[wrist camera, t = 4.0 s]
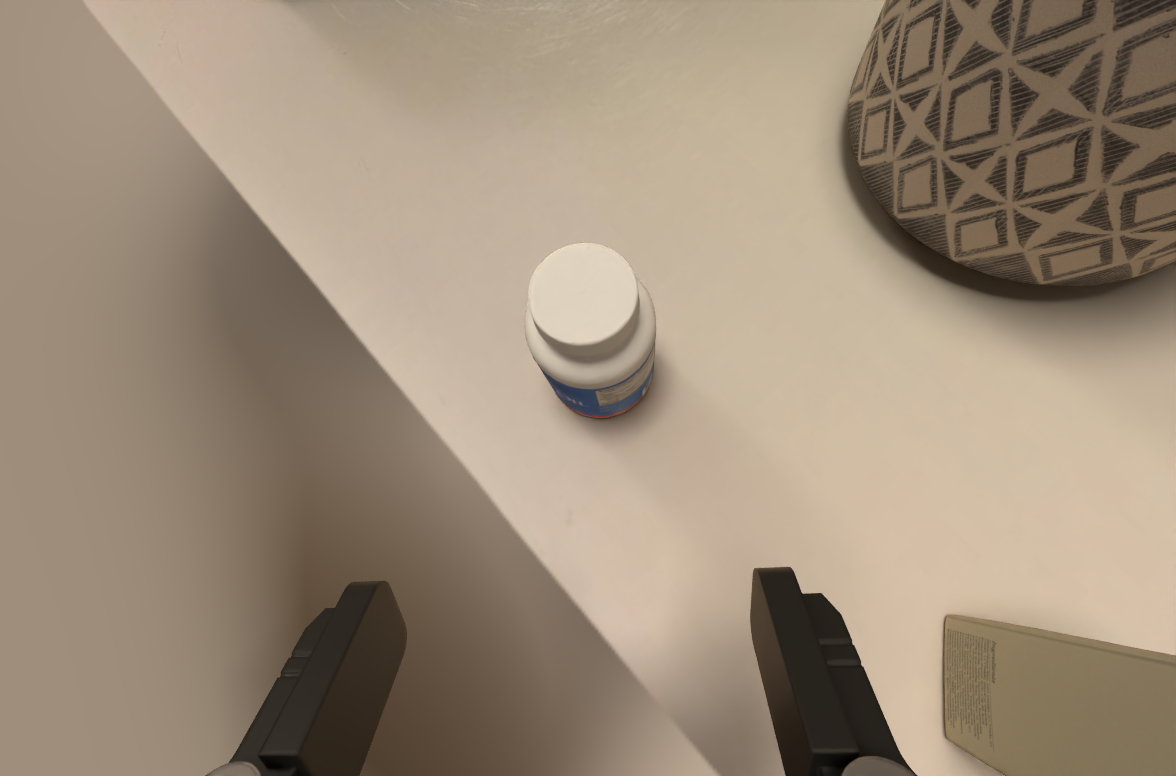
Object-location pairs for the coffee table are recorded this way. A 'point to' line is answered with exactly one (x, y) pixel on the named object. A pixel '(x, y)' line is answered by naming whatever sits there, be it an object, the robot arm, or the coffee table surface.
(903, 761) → the robot arm
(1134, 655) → the box
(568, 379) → the pill bottle
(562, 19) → the coffee table surface
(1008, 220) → the planter
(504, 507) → the coffee table surface
